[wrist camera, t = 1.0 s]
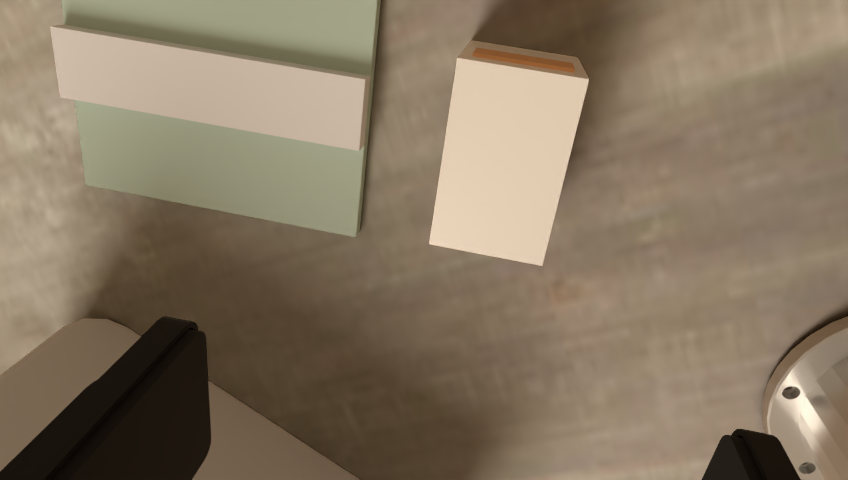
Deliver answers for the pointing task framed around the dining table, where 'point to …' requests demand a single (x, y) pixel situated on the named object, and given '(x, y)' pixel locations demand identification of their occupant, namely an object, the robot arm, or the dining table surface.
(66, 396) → the grey rounded block
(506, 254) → the block
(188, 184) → the rail board
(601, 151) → the dining table surface
